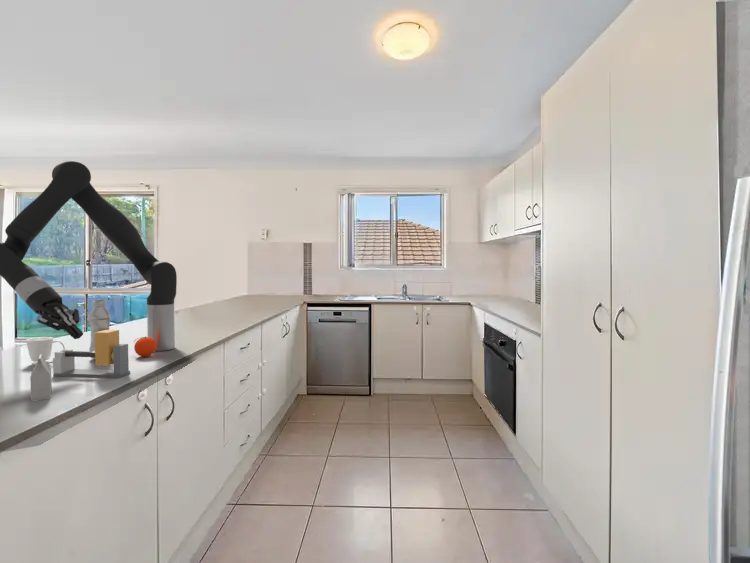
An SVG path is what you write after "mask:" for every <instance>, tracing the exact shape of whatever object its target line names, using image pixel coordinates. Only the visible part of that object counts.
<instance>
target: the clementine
mask: <svg viewBox="0 0 750 563" xmlns="http://www.w3.org/2000/svg"><path fill="white" fill-rule="evenodd" d="M133 347H134V352H135V353H136V355H138V356H139V357H143V358H145V357H150V356H152V355H153V354H154V353H155V352H157V351H156V348H157V344H156V342H155V340H154V339H152V338H150V337H148V336H141V337H137V338H136V341H135V342H134V346H133Z"/></svg>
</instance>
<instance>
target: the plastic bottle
mask: <svg viewBox="0 0 750 563" xmlns="http://www.w3.org/2000/svg"><path fill="white" fill-rule="evenodd" d="M106 302H107V301H106V299H97V300H93V301H92V307H93V308H92V309H91V311H90V312H89V313H88V316H87V317H88V323H89V328H90V344H89V349H88V352H95V332H99V331H103V330H110V325H111V318H112V317H111V316H112V315H111V313H110V311H109V310H108V309H107V307H106V306H107V303H106ZM90 358H91V359H93V360H95V357H90Z"/></svg>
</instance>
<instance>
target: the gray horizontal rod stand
mask: <svg viewBox="0 0 750 563" xmlns="http://www.w3.org/2000/svg"><path fill="white" fill-rule="evenodd" d="M73 350H74V349H65V350H64V349H62V350H60V351H54V352H53V353H54V357H53V358H52V360H53V362H52V369H53V370H52V374H53V377H72V376H77V377H79V378H81V377H82V378H103V377H106V379H107V378H109V379H120V378H122V377H125V376H128V375H129V374H131V370H130V369H129V344H128V343H119V345H116V346H113V351H112V352H111V359H112V360H113V364H112V365H113V369H89V368H87V369H86V368H85V369H84V368H76V367H75V366H76V365H75V358H91V357H95V352H89V351H79V350H77V351H76V350H75V351H73Z"/></svg>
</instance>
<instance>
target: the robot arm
mask: <svg viewBox="0 0 750 563" xmlns="http://www.w3.org/2000/svg"><path fill="white" fill-rule="evenodd" d="M51 171H52V172H51V178H52V180H51V182H50V183H49V184H48V186H46V188H45V189H44V191H42V192H41V193H40V194H39V195H38V196H37V197H36V198H35V199H34V200H33V201H32V202H30V203H29V204H28V205H27V206H25V207H24V208H23V210H22V211H21V212H19V213H18V214H17V215H16V217H15V218H14V219H13V220H12V221H11V222H10V223H9V224H8V225H7V227H6V228H5V230H4V232H5V235H7V237H6V239H5V241H4V242H3V241H0V276H1V277H2V278H3V280H5V282H6V283H7V284H8V285H9V286H10V287H11V288H12V289H13V290H14V291H15V292H16V294H17V295H18V296H19V298H20V300H22V301H23V302H24V303H25V304H26V305H27V306H28V307H29V308H30V309H31V311H33V312H34V313H35V314H36V315H40V316H39V318H38V319H37V320H36V321H37V322H38V323H40V324H41V325H44V326H47V327H49V328H52V329H54V330H56V331H61V330H62V331H64V332H66V333H67V334H68V335H69V336H70V337H71V338H73V339H74V340H79V339H81V338H82V337H83V335H84V333H83V331H82V330H81V329H80V327H79V326H77V325H78V324H79V323H80V313H79V310H78V309H77V308H74V309H73V310H72V309H69V307H68V306H67V305H65V304H64V303H63V297H62V296H61V295H60V294H59V293H58V292H57V291H56V290H55V289H54V288H53V287H52V286H51V285H50V284H49V283H48V282H47V281H46V280H45V279H43V278H42V277H41V276H40V275H39V274H38V273H37V272H36V271H35V270H34V269H33V268H32V267H31V266H30V265H29V264H26V263H25V262H23V260H24V258H25V256H26V254H27V252H28V251H29V249H30V247H31V244H32V242H33V241H34V240H35V239H36V238H37V236H39V234H40V233H41V232H42V231H43V229H44V228H45V227H47V225H48V224H49V222H50V221H51V220H52V219H53V218H54V216H55V215H56V214H57V213H58V212H59V211H60V209H61V208H63V206H64V205H65V204H66V203H68V202H69V201H70V200H73V202H75V203H76V204H77V205H78V206H79V207H80V208H81V209H82V210H83V211H84V213H85V214H86V215H87V217H89V219H90V220H91V221H92V222H93V224H95V226H96V227H97V228H98V229H99V231H100V232H102V234H103V235H104V236H105V237H106V238H107V240H109V241H110V243H112V244H113V245H114V246H115V247H116V249H118V250H119V252H121V253H122V254H123V255H124V256H125V258H127V259H128V260H129V261H130V262H131V263H132V264H133V266H134V267H135V269H136V270H137V271H138V272H139V274H140V275H141V276H142V278H143V279H144V280H145V282H146V283H148V284H149V285H150V293H149V295H148V296H147V298H146V315H147V316H146V323H147V327H146V328H147V329H146V330H147V331H146V332H147V333H146V334H147V337H150V338H152V339H154V340H155V342H156V344H157V348H156V351H155V352H161V351H163V352H164V351H170V350H173V349H175V348H176V338H175V337H176V335H175V334H176V332H175V331H176V330H175V326H176V325H175V298H176V297H177V282H178V280H177V278H178V276H177V270H176V267H174V265H173V264H171V263H170V262H167V261H160V260H158V259H157V258H156V257H155V256H154V255H153V254H152V253H151V252H150V251H149V250H148V249H147V247H146V245H145V243H144V241H143V239H142V236H141V234H140V232H139V231H138V230H137V228H136V227H135V225H134V224H133V223H132V222H131V220H130V219H129V218H128V217H127V216H126V215H125V214H124V213H123V212H122V211H121V210H119V209H118V208H117V207H115V206H114V205H113V204H112V203H110V202H109V201H107V200H106V199H105V198H103V196H101V195H100V193H99V192H98V191H97V190H96V189H95V188H94V186H93V185H92V184H91V180H92V174H91V171H90V169H89V168H88V167H87V165H86V164H84V163H83V162H79V161H77V160H68V161H67V160H66V161H63V162H60V163H59V164H57V165H55V167H54V168H52V170H51Z"/></svg>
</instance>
